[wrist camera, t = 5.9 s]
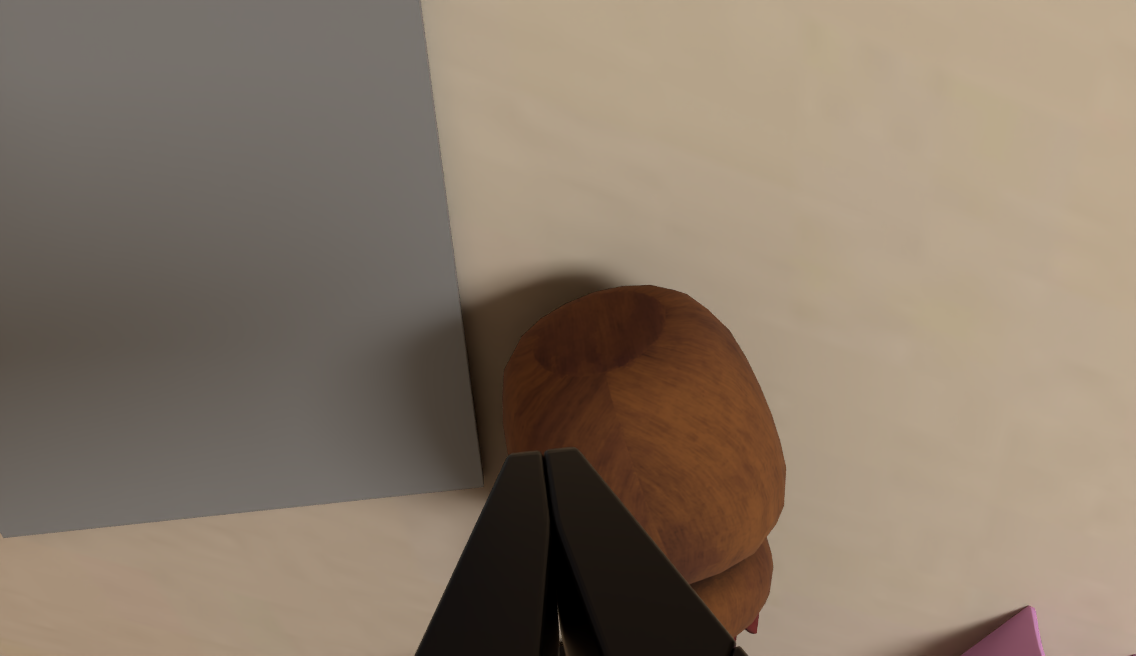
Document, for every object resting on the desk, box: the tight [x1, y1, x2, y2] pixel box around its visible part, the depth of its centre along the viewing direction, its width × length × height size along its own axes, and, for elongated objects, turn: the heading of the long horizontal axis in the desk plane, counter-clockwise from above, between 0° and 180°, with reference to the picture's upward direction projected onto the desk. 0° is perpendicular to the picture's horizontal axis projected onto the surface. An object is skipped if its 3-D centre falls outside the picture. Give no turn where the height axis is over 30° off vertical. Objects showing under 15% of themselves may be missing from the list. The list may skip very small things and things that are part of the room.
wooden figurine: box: [502, 285, 786, 641], centre depth 21 cm, size 7×6×15 cm
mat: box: [0, 0, 484, 538], centre depth 17 cm, size 20×14×1 cm
